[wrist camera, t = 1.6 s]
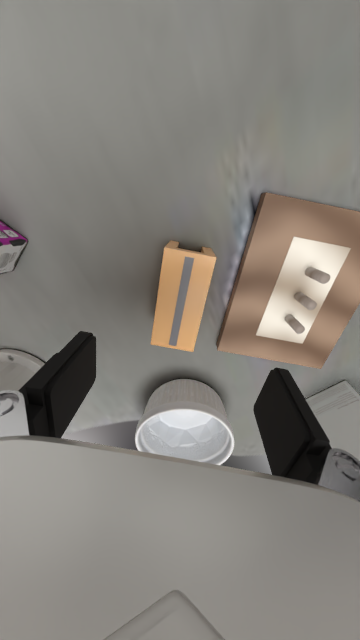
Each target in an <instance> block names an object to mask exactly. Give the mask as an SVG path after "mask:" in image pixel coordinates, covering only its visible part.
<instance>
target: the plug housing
mask: <svg viewBox="0 0 360 640" xmlns="http://www.w3.org/2000/svg"><path fill="white" fill-rule="evenodd" d="M178 246H179V242H176V241H171V240H170V241H169V243H168V244H167V245H166V246H165V247H164V253H163V260H162V267H161V274H160V281H159V288H158V295H157V302H156V310H155V317H154V324H153V331H152V338H151V345H157V346H163V347H168V348H174V349H179V350H185V351H191V352H193V350H194V346H195V342H196V338H197V334H198V330H199V326H200V322H201V318H202V314H203V310H204V306H205V302H206V298H207V294H208V290H209V286H210V282H211V278H212V274H213V270H214V266H215V262H216V258H217V257H216V256H215V254H214V253H213V251H212V249H211V248H206V247H202V250H201V252H196V251H190V250H185V249H180V248H178Z"/></svg>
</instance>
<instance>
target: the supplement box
mask: <svg viewBox="0 0 360 640" xmlns="http://www.w3.org/2000/svg"><path fill="white" fill-rule="evenodd" d="M305 400H306V401H307V403H308V405H309V407H310V408H311V410H312V412H313V413H314V415H315V417H316V418H317V420H318V422H319V424H320V425H321V427H322V429H323V430H324V432H325V434H326V435H327V437H328V439H329V440H330V443H329V444H330V446H331V448H332V449H333V448H338V449H342V450H344V451H346V452H348V453H350V454H352V455H353V456H354V457H355V458H357V459H358V460H359V461H360V395H359V394H358V393H357V392H356V391H355V390H354V388H353V387H352V386H351V385H350V384H349V383H348V382H347V381H346V380H345V381H343V382H340V383H338V384H336V385H334V386H332V387H330V388H328V389H326V390H324V391H322V392H320V393H318V394H316V395H314V396H311V397H310V398H307V399H305Z"/></svg>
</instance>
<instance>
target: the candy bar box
mask: <svg viewBox="0 0 360 640" xmlns="http://www.w3.org/2000/svg"><path fill="white" fill-rule="evenodd" d="M27 241H28V240H27V239H25V238H24V237H23V236H21V235H20V234H19V233H17V232H16V231H14V230H13V229H12V228H10V227H9V226H8V225H6V224H5V223H4V222H2V221H1V220H0V274H3V273H6V272H10V271H13V269H14V267H15V265H16V263H17V261H18V259H19V257H20V255H21V254H22V251H23V250H24V248H25V246H26V244H27Z"/></svg>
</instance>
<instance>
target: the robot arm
mask: <svg viewBox="0 0 360 640" xmlns="http://www.w3.org/2000/svg"><path fill="white" fill-rule="evenodd" d="M95 378H96V337H95V336H93V334H92V333H88V332H83V331H80V332H79V333H78V334H77V335H76V336H75V337H74V338H73V339H72V340H71V341H70V342H69V343H68V344H67V345H66V346H65V347H64V348H63V349H62V350H61V351H60V352H59V353H56V354H55V355H53V356H52V357H51V358H50V359H49V360H48V361H47V362H46V363H43V362H42V361H41V360H39V359H38V358H36V357H34V356H32V355H30V354H27V353H24V352H22V351H17V350H11V349H1V350H0V640H360V461H359V460H358V459H357V458H355V457H354V456H353V455H352V454H350V453H348V452H346V451H344V450H342V449H338V448H333V449H332V448H331V446H330V444H329V443H330V440H329V439H328V437H327V435H326V434H325V432H324V430H323V429H322V427H321V425H320V424H319V422H318V420H317V418H316V417H315V415H314V413H313V412H312V410H311V408H310V407H309V405H308V403H307V401H306V400H305V398H304V396H303V395H302V393H301V391H300V390H299V388H298V386H297V384H296V383H295V381H294V379H293V378H292V376H291V374H290V373H289V371H288V370H286V369H280V368H275V369H274V370H271V371H270V373H269V375H268V377H267V379H266V381H265V383H264V386H263V388H262V390H261V392H260V394H259V396H258V398H257V400H256V402H255V405H254V414H255V417H256V421H257V424H258V428H259V431H260V434H261V438H262V441H263V445H264V448H265V452H266V455H267V458H268V461H269V465H270V468H271V472H272V475H270V474H265V473H259V472H254V471H248V470H242V469H237V468H231V467H226V466H221V465H215V464H210V463H204V462H198V461H193V460H187V459H182V458H176V457H170V456H164V455H159V454H153V453H147V452H141V451H135V450H130V449H124V448H118V447H112V446H106V445H100V444H95V443H88V442H82V441H75V440H68V439H62V438H61V437H62V435H63V433H64V432H65V430H66V428H67V427H68V425H69V423H70V422H71V420H72V418H73V417H74V415H75V413H76V412H77V410H78V408H79V407H80V405H81V403H82V402H83V400H84V398H85V397H86V395H87V393H88V392H89V390H90V388H91V387H92V385H93V383H94V381H95Z"/></svg>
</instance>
